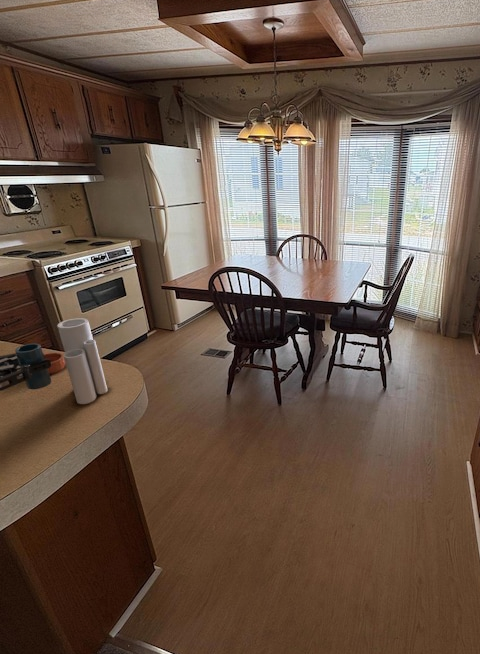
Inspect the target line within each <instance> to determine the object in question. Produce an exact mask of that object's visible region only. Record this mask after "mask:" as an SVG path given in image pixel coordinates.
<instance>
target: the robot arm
mask: <svg viewBox="0 0 480 654" xmlns="http://www.w3.org/2000/svg"><path fill="white" fill-rule="evenodd" d="M44 354H45V353H43V355H44ZM44 358H45V357H44ZM50 367H51V363H50V360H49V359H43V360H40V361H36V362H33V363H29V364H25V365H20V364H19V361H18V358H17V356H16V353H10V354H3V355H0V392H2V391H4V390H7V389H10V388H12V387H14V386H16V385H19V384H21V383H23V382H25V381H26V380H29V379H30V378H31V377H30V375H32V373H34V372H37V371H40V370H44V369H47V368H50Z"/></svg>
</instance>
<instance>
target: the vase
mask: <svg viewBox="0 0 480 654" xmlns="http://www.w3.org/2000/svg"><path fill="white" fill-rule="evenodd" d="M56 327H57V329H58V334H59V336H60V340H61V343H62V347H63V350H64V353H63V356H64V360H65V363H66V364H65V366H66V370H67V373H68V377H69V379H70V380H69V381H70V384H71V386H72V390H73V393H74V397H75V400H76V402H77V404H79V405H86V404H90V403H92V402H94V401H95V400H96V399H97V395H103V394H106V393H107V392H108V387H107V386H108V385H107V381H106V379H105V373H104V370H103V366H102V363H101V362H102V361H101V358H100V355H99V351H98V350H99V349H98V346H97V342H96V340H95V339H94V338H93V334H92V331H91V326H90V322H89V319H87V318H83V317H79V318H78V317H77V318H70V319H66V320H63V321H60V322H59V323H58V324H57V326H56Z"/></svg>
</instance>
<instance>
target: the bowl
mask: <svg viewBox="0 0 480 654" xmlns="http://www.w3.org/2000/svg"><path fill="white" fill-rule="evenodd" d="M43 354H44V357H45V359H49V360H50V363H51V367H50V368H48V371H49V375H51V374H55V373H57V372H59V371H62V370H63V369H64V368H65V366H66V363H65V360H64V356H63V355H64V353H61V352H48V353H43Z"/></svg>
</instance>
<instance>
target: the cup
mask: <svg viewBox="0 0 480 654" xmlns="http://www.w3.org/2000/svg"><path fill="white" fill-rule="evenodd" d="M14 352H15V353H16V356H17V358H18V361H19V364H20V365H25V364H29V363H33V362H36V361H40V360H43V359H45V358H44V355H43V354H44V352H43V349H42V345H41V344H40V343H37V342H36V343H35V342H34V343H27V344H23V345H20V346H18V347H16V348H15V349H14ZM30 377H31V378H30V379H29V380H26V381H24V382H25V384H26V387H27V389H28V390H39V389H43V388H46V387H48V386H49V385H50V384H51V383H52V379H51V374H49V371H48V368H47V369H44V370H40V371H37V372H34V373H32V375H30Z"/></svg>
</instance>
